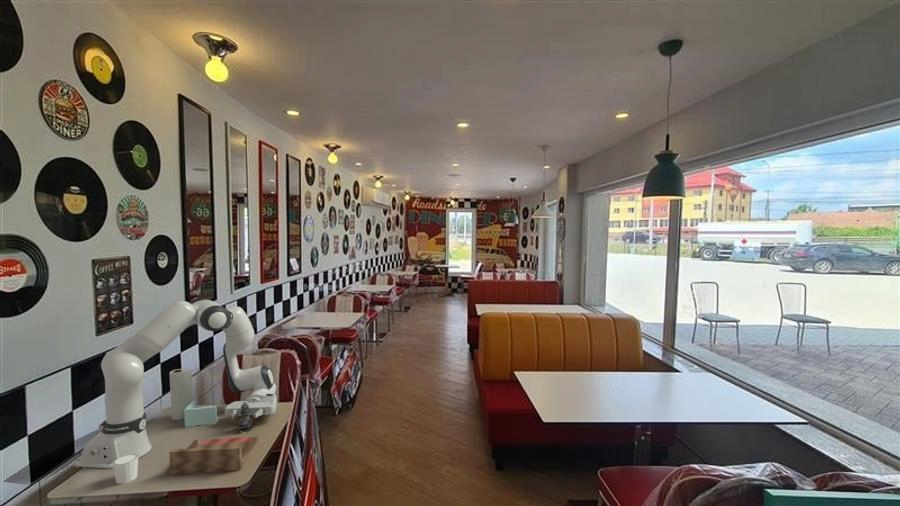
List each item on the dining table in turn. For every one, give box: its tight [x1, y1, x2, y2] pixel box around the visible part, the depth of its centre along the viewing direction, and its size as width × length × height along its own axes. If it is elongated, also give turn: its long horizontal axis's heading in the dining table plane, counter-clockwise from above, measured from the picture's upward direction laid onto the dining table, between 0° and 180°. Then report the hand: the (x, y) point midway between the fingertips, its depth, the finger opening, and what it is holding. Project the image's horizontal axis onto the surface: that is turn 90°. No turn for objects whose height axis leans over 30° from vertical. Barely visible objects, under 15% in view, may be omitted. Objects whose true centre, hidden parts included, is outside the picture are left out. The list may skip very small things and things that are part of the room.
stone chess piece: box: [237, 402, 254, 433], centre depth 169 cm, size 6×6×12 cm
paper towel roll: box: [168, 368, 194, 421], centre depth 179 cm, size 7×6×21 cm
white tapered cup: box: [112, 454, 139, 485], centre depth 137 cm, size 7×7×7 cm
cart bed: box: [169, 436, 259, 475], centre depth 150 cm, size 23×21×8 cm
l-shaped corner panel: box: [184, 397, 218, 428], centre depth 178 cm, size 12×12×8 cm
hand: (244, 416), depth 168 cm, fingers open, 7 cm apart
